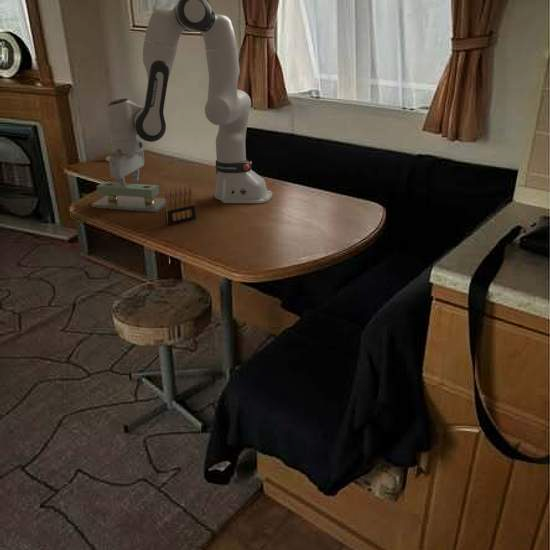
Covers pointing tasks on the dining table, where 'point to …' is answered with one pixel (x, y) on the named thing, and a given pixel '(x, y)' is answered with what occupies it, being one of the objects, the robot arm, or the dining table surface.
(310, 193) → the dining table surface
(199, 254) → the dining table surface
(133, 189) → the board
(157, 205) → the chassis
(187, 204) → the ammunition clip
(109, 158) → the sitting furry creature
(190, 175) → the dining table surface
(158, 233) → the dining table surface
